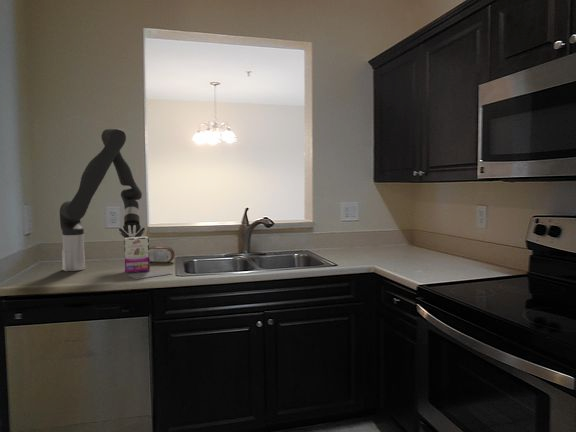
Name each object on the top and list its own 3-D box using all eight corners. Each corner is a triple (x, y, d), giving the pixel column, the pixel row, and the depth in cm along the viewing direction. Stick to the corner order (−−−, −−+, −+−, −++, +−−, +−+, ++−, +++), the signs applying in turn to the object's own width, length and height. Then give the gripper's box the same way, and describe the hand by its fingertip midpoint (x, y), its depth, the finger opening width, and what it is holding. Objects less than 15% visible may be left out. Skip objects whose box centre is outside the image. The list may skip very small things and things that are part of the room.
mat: (135, 279, 182) (135, 278, 182) (128, 275, 189) (128, 275, 189) (172, 274, 193) (172, 273, 193) (163, 270, 200) (163, 270, 200)
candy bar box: (148, 269, 204) (148, 236, 203) (149, 271, 199) (149, 237, 198) (124, 271, 199) (123, 237, 198) (124, 273, 195) (124, 238, 194)
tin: (174, 262, 223) (174, 246, 223) (172, 263, 220) (172, 247, 219) (147, 261, 225) (147, 245, 224) (145, 262, 222) (145, 246, 221)
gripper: (117, 213, 211) (117, 240, 200) (145, 212, 216) (146, 239, 205) (118, 222, 216) (118, 249, 206) (145, 221, 221) (146, 248, 210)
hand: (132, 244), depth 205 cm, fingers closed
